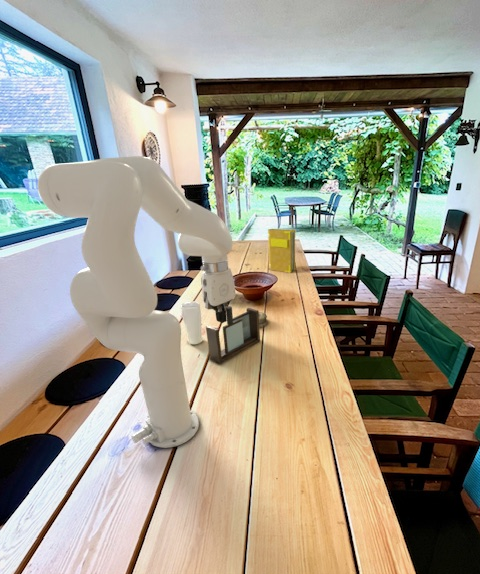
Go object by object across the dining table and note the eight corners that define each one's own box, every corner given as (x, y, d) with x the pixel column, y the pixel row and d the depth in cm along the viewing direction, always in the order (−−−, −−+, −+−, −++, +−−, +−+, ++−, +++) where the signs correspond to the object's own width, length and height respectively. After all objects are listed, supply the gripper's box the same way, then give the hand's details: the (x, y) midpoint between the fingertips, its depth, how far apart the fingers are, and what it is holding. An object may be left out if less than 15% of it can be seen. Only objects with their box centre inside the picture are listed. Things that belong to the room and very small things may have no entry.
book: (295, 270, 205) (295, 229, 195) (290, 272, 200) (290, 231, 190) (272, 267, 214) (271, 228, 203) (267, 269, 209) (265, 230, 198)
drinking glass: (200, 346, 118) (195, 308, 112) (183, 345, 119) (177, 308, 113) (207, 338, 124) (202, 301, 118) (190, 336, 125) (185, 301, 119)
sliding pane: (227, 354, 109) (223, 311, 103) (224, 353, 111) (219, 309, 104) (245, 345, 115) (242, 303, 108) (241, 343, 116) (238, 301, 109)
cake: (271, 321, 137) (272, 309, 135) (260, 331, 129) (260, 319, 127) (251, 315, 141) (251, 304, 138) (239, 325, 133) (239, 313, 131)
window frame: (219, 364, 106) (215, 330, 101) (209, 359, 109) (205, 326, 104) (260, 341, 120) (258, 310, 115) (250, 337, 123) (248, 307, 118)
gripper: (204, 274, 90) (211, 332, 97) (242, 262, 100) (245, 316, 107) (187, 270, 94) (196, 326, 102) (225, 259, 104) (230, 311, 112)
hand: (221, 321), depth 105 cm, fingers closed
